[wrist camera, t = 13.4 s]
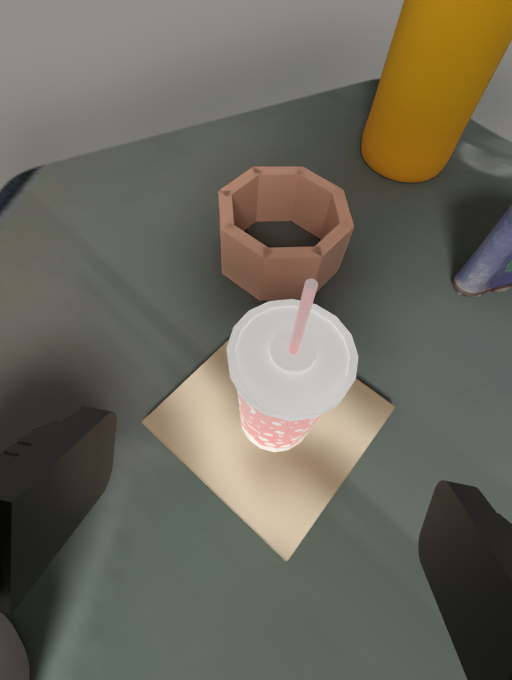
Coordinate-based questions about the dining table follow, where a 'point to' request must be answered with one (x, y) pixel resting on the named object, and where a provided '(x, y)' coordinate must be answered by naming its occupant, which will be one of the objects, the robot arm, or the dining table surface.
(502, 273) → the flask
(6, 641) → the pillar candle
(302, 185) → the ceramic ring
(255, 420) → the beverage cup
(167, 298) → the dining table surface
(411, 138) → the beer bottle
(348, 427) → the wooden coaster
